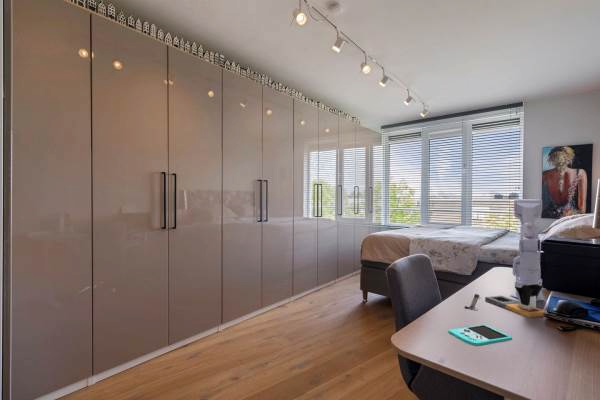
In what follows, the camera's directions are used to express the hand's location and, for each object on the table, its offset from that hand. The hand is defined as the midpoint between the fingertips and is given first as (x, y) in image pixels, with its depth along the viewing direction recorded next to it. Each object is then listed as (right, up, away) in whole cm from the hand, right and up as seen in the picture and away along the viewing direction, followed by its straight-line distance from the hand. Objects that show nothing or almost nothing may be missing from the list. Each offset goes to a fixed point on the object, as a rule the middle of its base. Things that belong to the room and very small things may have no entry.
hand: (528, 303), depth 117 cm
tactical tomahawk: (-14, -4, +10) cm, 18 cm away
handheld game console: (-31, -4, -20) cm, 37 cm away
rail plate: (-2, -3, +5) cm, 6 cm away
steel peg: (0, -3, 0) cm, 3 cm away
